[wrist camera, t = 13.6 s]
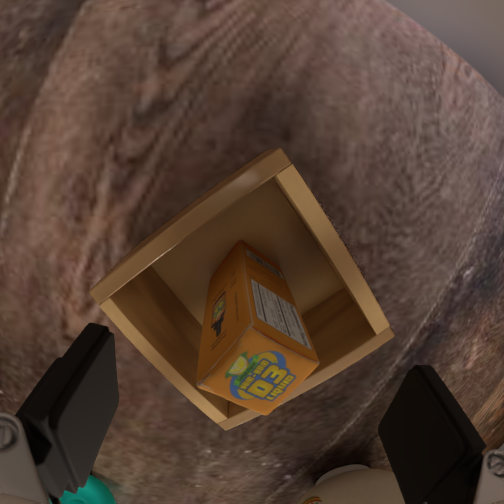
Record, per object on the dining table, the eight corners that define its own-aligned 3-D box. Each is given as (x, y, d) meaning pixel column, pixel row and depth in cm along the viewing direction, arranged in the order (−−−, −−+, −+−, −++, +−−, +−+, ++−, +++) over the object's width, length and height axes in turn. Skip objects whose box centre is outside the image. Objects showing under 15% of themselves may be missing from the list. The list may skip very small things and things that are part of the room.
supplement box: (254, 307, 21) (263, 424, 11) (208, 278, 20) (183, 384, 10) (286, 267, 20) (324, 368, 10) (240, 235, 19) (240, 318, 10)
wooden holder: (131, 250, 20) (87, 292, 13) (267, 149, 18) (280, 146, 12) (228, 363, 23) (225, 431, 16) (355, 284, 21) (395, 336, 15)
